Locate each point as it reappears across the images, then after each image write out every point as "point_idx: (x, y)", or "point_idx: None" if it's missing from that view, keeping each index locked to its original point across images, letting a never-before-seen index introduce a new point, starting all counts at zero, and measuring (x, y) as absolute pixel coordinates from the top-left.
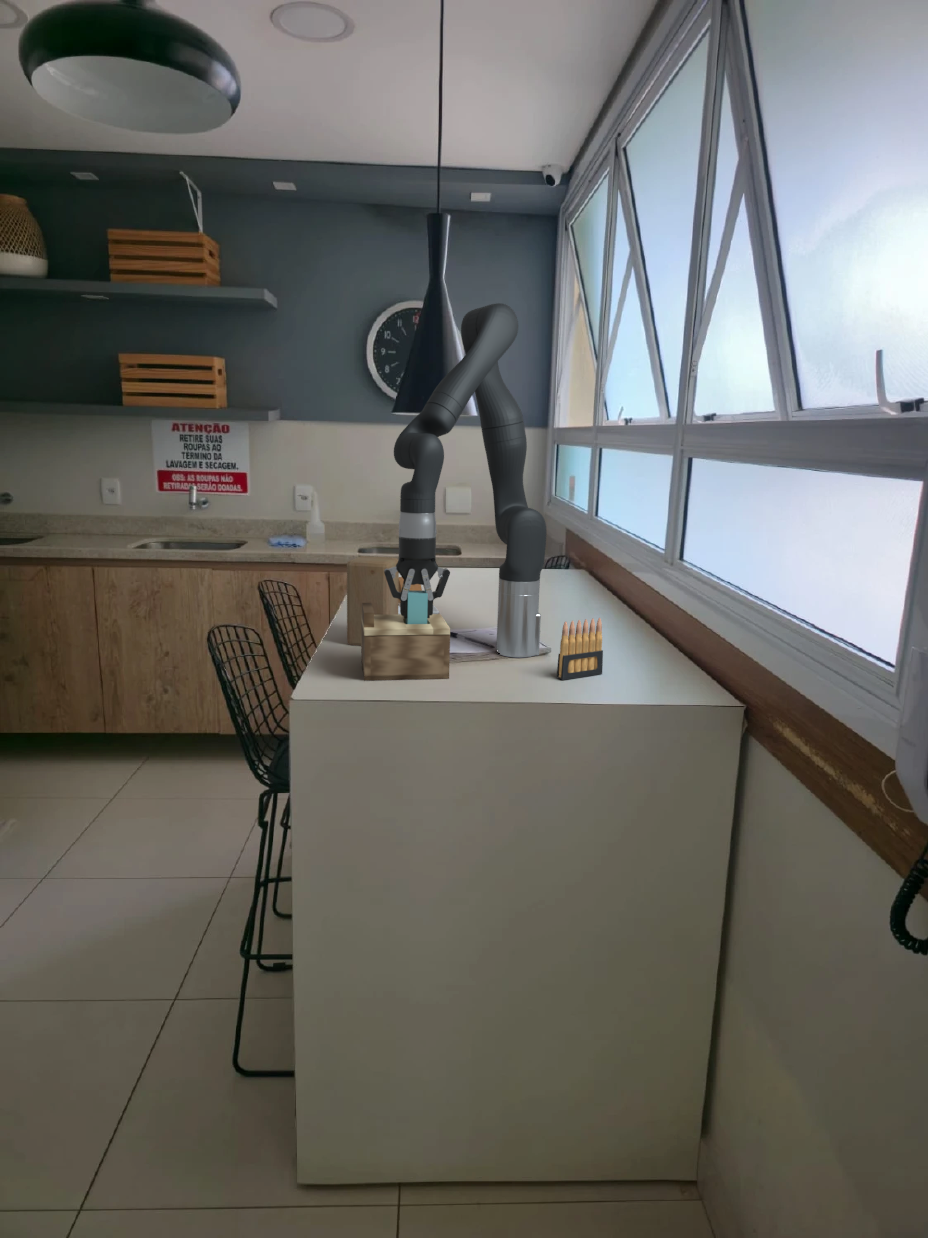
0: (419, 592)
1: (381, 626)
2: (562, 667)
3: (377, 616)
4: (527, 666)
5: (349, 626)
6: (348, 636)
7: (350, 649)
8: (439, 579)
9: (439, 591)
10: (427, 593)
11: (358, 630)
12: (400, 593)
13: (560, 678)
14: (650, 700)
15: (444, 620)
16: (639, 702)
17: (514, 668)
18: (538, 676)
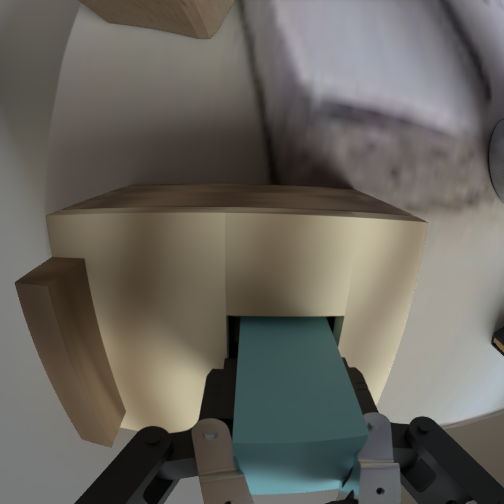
0: (309, 473)
1: (146, 408)
2: (502, 354)
3: (108, 255)
4: (496, 267)
5: (86, 5)
6: (99, 15)
7: (111, 53)
8: (457, 484)
9: (405, 473)
10: (345, 479)
11: (114, 11)
12: (193, 475)
13: (492, 343)
14: (501, 401)
15: (397, 348)
16: (489, 409)
17: (475, 279)
18: (478, 329)
